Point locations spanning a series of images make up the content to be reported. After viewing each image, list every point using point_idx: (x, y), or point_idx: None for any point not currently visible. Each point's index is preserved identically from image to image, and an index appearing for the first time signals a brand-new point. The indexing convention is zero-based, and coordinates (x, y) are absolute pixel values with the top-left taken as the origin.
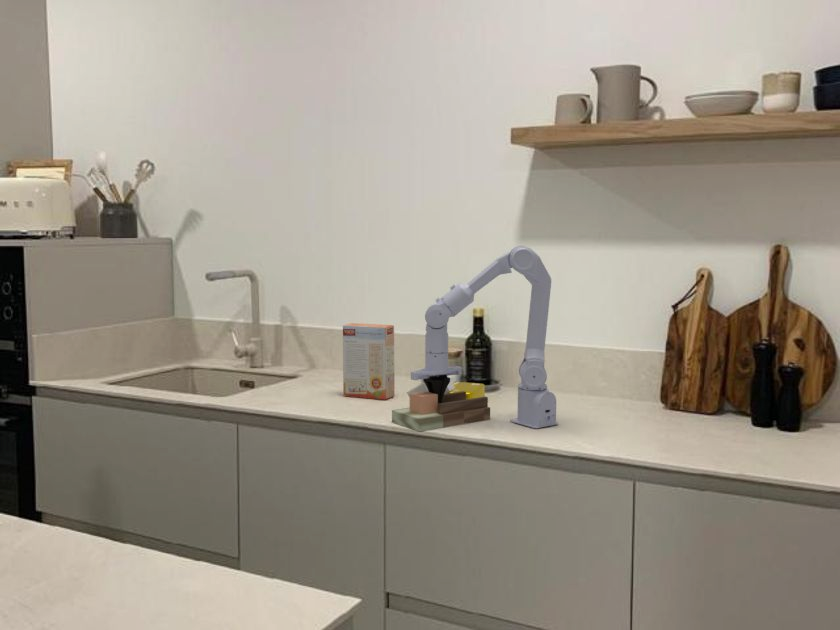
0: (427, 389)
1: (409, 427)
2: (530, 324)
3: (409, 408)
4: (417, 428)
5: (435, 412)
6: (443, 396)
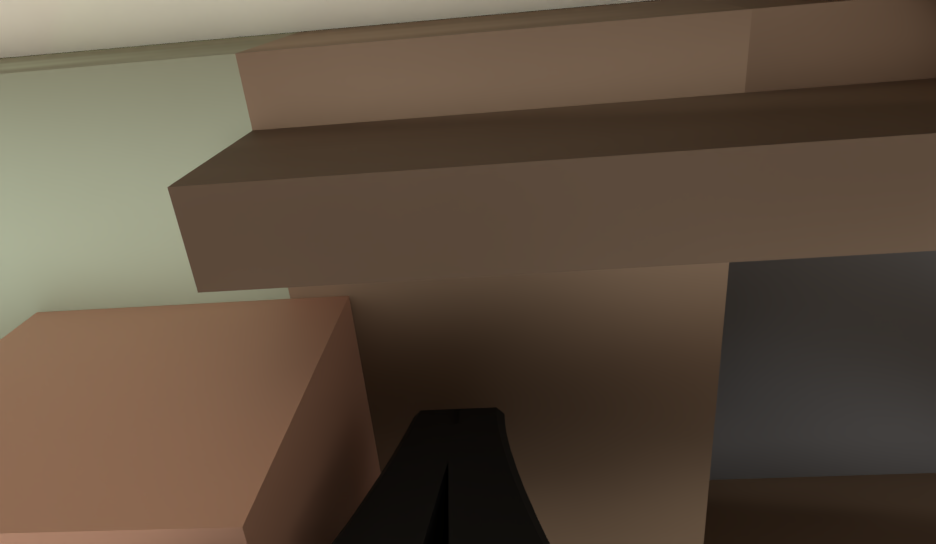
0: None
1: None
2: None
3: (89, 142)
4: None
5: None
6: (902, 235)
